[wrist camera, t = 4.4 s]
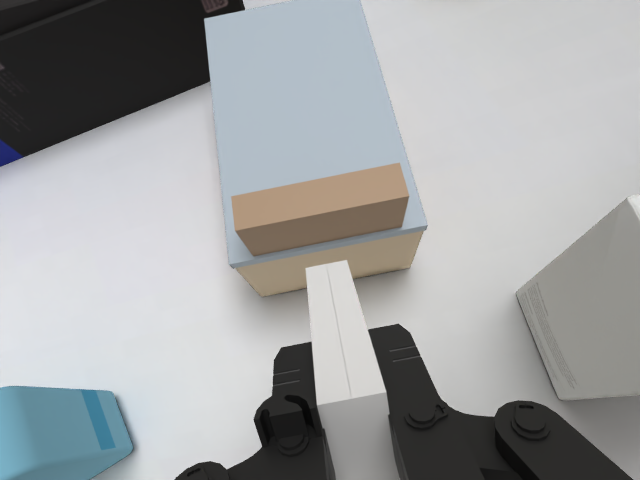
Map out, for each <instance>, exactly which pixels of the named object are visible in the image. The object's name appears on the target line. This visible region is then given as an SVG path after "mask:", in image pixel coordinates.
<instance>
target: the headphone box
mask: <svg viewBox="0 0 640 480" xmlns="http://www.w3.org/2000/svg"><path fill="white" fill-rule="evenodd" d="M244 10H245V7H244V4H243V0H0V167H1V166H3V165H6V164H8V163H10V162H13V161H15V160H18V159H20V158H23V157H25V156H28V155H30V154H33V153H35V152H38V151H40V150H42V149H45V148H47V147H50V146H52V145H55V144H57V143H60V142H62V141H65V140H67V139H70V138H72V137H74V136H77V135H79V134H82V133H84V132H87V131H89V130H92V129H94V128H97V127H99V126H102V125H104V124H106V123H109V122H111V121H114V120H116V119H119V118H121V117H124V116H126V115H129V114H131V113H134V112H136V111H138V110H141V109H143V108H146V107H148V106H151V105H153V104H156V103H158V102H161V101H163V100H166V99H168V98H170V97H173V96H175V95H178V94H180V93H183V92H185V91H188V90H190V89H193V88H195V87H198V86H200V85H202V84H205V83H207V82H210V71H209V62H208V52H207V42H206V32H205V22H204V19H205V18H210V17H215V16H220V15H224V14H229V13H234V12H239V11H244Z"/></svg>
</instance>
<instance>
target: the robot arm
mask: <svg viewBox="0 0 640 480" xmlns="http://www.w3.org/2000/svg"><path fill="white" fill-rule="evenodd" d="M306 279H307V291H308V303H309V315H310V327H311V340H312V342H308V343H303V344H297V345H292V346H287V347H282V348H281V349H280V351H279V353H278V354H277V356H276V358H275V359H274V370H273V374H274V376H273V390H272V396H271V397H270V398H268V399H267V400H265V401H264V402H263V403H262V404H261V406H260V407H259V408H258V409H257V411H256V414H255V417H254V422H255V425H256V429H257V432H258V435H259V438H260V441H261V444H262V447H261V449H260V450H259V451H258V452H257V453H255V454H254V455H253V456H252V457H250V458H248V459H247V460H245V461H243V462H241V463H239V464H237V465H235V466H233V467H231V468H229V469H227V470H226V469H225V468H224V467H223V466H222V465H221V464H219V463H215V462H211V461H209V462H203V463H198V464H196V465H194V466H192V467H190V468H187V469H186V470H185V471H184V472H182V473H181V474H180V475H179V476H178V477H176V479H175V480H633V479H632V478H631V477H630V476H628V475H627V474H626V473H625V472H624V471H623V470H621V469H620V468H619V467H618V466H617V465H616V464H615V463H613V462H612V461H611V460H610V459H609V458H608V457H607V456H605V455H604V454H603V453H602V452H601V451H600V450H598V449H597V448H596V447H595V446H594V445H593V444H592V443H590V442H589V441H588V440H587V439H586V438H585V437H583V436H582V435H581V434H580V433H579V432H578V431H577V430H575V429H574V428H573V427H572V426H571V425H570V424H569V423H567V422H566V421H565V420H564V419H563V418H562V417H560V416H559V415H558V414H557V413H556V412H554V411H552V410H551V409H549V408H548V407H546V406H544V405H541V404H538V403H535V402H532V401H519V400H518V401H514V402H509V403H506V404H505V405H503V406H502V407H500V408H499V409H498V411H497V413H496V415H495V417H487V416H475V415H469V414H464V413H461V412H459V411H456V410H454V409H452V408H451V407H449V406H448V405H447V403H445V402H444V401H442V400H441V398H440V396H439V395H438V393H437V391H436V389H435V386H434V384H433V382H432V380H431V378H430V375H429V373H428V371H427V369H426V367H425V364H424V362H423V360H422V358H421V357H420V353H419V351H418V349H417V347H416V345H415V342H414V340H413V338H412V336H411V334H410V332H408V331H407V330H406V329H405V328H403V327H402V326H401V325H399V324H395V325H390V326H385V327H379V328H374V329H369V330H368V329H367V326H366V322H365V319H364V316H363V312H362V309H361V305H360V302H359V299H358V295H357V292H356V289H355V285H354V282H353V279H352V275H351V272H350V269H349V265H348V262H347V260H344V261H339V262H333V263H328V264H323V265H318V266H313V267H308V268H306ZM399 477H400V478H399Z"/></svg>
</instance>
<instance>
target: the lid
mask: <svg viewBox="0 0 640 480" xmlns="http://www.w3.org/2000/svg"><path fill="white" fill-rule="evenodd" d="M204 22H205V32H206V42H207V52H208V62H209V71H210V81H211V91H212V101H213V111H214V121H215V131H216V141H217V151H218V160H219V170H220V180H221V190H222V200H223V210H224V220H225V230H226V239H227V249H228V259H229V265H230V266H231V267H232V268H238V267H243V266H248V265H253V264H258V263H263V262H268V261H273V260H278V259H283V258H288V257H293V256H298V255H304V254H309V253H314V252H319V251H324V250H329V249H334V248H339V247H344V246H349V245H354V244H359V243H364V242H369V241H374V240H379V239H384V238H389V237H394V236H399V235H404V234H409V233H415V232H420V231H425V230H426V229H427V226H428V224H427V220H426V217H425V214H424V210H423V207H422V204H421V200H420V197H419V194H418V190H417V187H416V184H415V180H414V177H413V174H412V170H411V167H410V164H409V161H408V157H407V154H406V151H405V147H404V144H403V141H402V137H401V134H400V131H399V127H398V124H397V121H396V117H395V114H394V111H393V107H392V104H391V101H390V97H389V94H388V91H387V87H386V84H385V81H384V77H383V74H382V71H381V67H380V64H379V61H378V57H377V54H376V51H375V47H374V44H373V41H372V38H371V34H370V31H369V28H368V24H367V21H366V18H365V14H364V11H363V8H362V4H361V1H360V0H292V1H287V2H282V3H277V4H272V5H268V6H263V7H258V8H253V9H248V10H244V11H239V12H234V13H229V14H224V15H220V16H215V17H210V18H205V19H204Z"/></svg>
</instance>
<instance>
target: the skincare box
mask: <svg viewBox="0 0 640 480" xmlns="http://www.w3.org/2000/svg"><path fill="white" fill-rule="evenodd" d="M516 295H517V297H518V300H519V303H520V305H521V308H522V310H523V313H524V315H525V318H526V320H527V323H528V325H529V328H530V330H531V332H532V335H533V337H534V340H535V342H536V345H537V347H538V350H539V352H540V355H541V357H542V360H543V362H544V365H545V367H546V369H547V372H548V374H549V377H550V379H551V382H552V384H553V387H554V389H555V391H556V394H557V396H558V398H559V399H560V400H564V401H566V400H580V399H592V398H607V397H621V396H635V395H640V194H637V195H633V196H629V197H627V198H626V199H625V200H624V201H623V202H622V203H620V204H619V205H618V206H617V207H616V208H615V209H613V210H612V211H611V212H610V213H609V214H608V215H606V216H605V217H604V218H603V219H602V220H600V221H599V222H598V223H597V224H596V225H595V226H593V227H592V228H591V229H590V230H589V231H588V232H586V233H585V234H584V235H583V236H582V237H580V238H579V239H578V240H577V241H576V242H575V243H573V244H572V245H571V246H570V247H569V248H567V249H566V250H565V251H564V252H563V253H562V254H560V255H559V256H558V257H557V258H556V259H554V260H553V261H552V262H551V263H550V264H548V265H547V266H546V267H545V268H544V269H543V270H541V271H540V272H539V273H538V274H537V275H535V276H534V277H533V278H532V279H531V280H530V281H528V282H527V283H526V284H525V285H524V286H523V287H521V288H520V289H519V290H518V291H517V292H516Z"/></svg>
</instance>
